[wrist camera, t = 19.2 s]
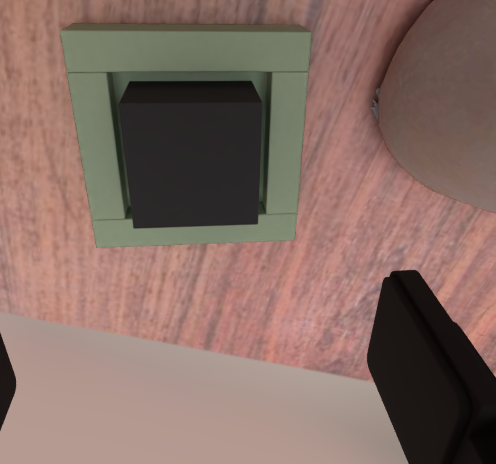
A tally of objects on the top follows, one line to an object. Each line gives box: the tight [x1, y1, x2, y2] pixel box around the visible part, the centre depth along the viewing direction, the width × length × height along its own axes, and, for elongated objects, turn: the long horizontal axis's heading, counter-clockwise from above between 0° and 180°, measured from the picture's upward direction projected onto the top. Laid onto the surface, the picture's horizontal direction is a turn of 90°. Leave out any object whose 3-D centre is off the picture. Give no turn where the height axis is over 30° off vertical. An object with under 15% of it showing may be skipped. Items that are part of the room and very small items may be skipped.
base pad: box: [60, 23, 312, 248], centre depth 24 cm, size 11×11×2 cm
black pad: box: [119, 81, 262, 229], centre depth 23 cm, size 6×6×4 cm
